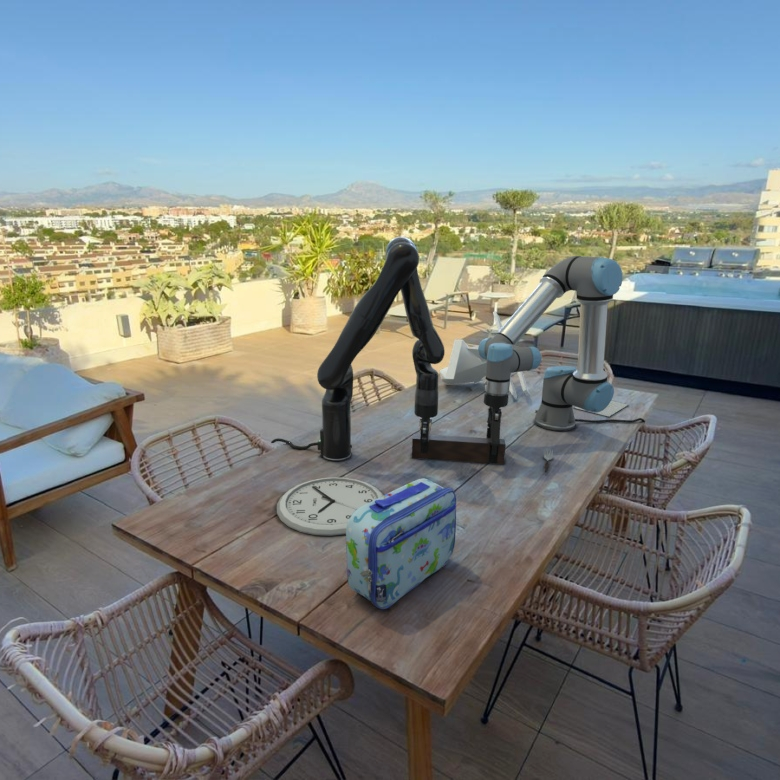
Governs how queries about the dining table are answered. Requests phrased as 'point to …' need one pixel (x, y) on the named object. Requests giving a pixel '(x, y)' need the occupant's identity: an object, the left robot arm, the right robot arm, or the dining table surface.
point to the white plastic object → (472, 365)
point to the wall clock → (324, 504)
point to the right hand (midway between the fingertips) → (491, 454)
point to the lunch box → (400, 540)
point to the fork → (547, 459)
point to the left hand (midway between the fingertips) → (424, 449)
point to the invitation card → (609, 408)
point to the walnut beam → (456, 449)
